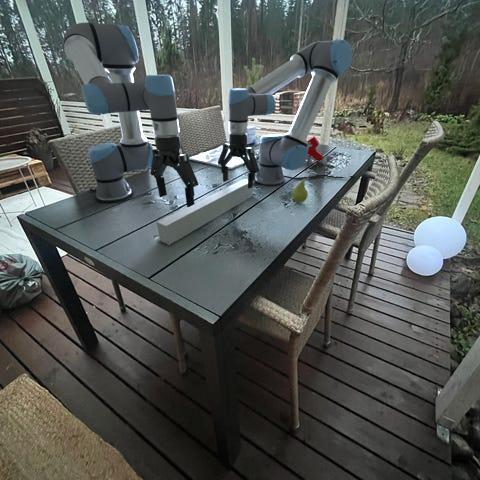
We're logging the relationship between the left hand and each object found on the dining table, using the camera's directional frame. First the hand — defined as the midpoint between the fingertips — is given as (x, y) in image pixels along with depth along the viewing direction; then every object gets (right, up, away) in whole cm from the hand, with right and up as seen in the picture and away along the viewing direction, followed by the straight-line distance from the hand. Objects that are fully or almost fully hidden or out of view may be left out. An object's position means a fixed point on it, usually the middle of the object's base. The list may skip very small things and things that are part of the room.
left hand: (176, 200), depth 92 cm
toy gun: (+64, +37, +81) cm, 110 cm away
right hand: (+21, +11, +27) cm, 35 cm away
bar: (+11, -3, +19) cm, 22 cm away
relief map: (+10, +40, +86) cm, 95 cm away
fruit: (+48, +4, +29) cm, 57 cm away
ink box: (+29, +64, +123) cm, 142 cm away
